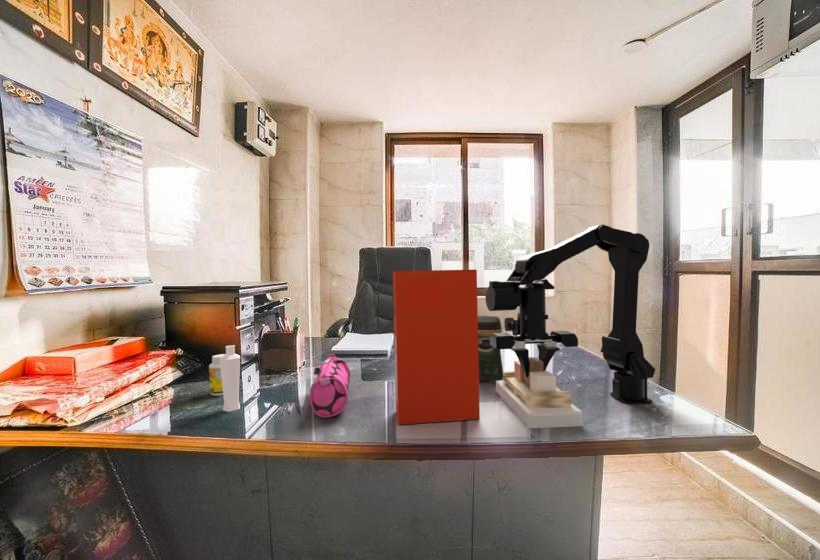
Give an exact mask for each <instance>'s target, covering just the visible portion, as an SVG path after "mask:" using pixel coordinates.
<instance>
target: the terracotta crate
mask: <svg viewBox="0 0 820 560" xmlns="http://www.w3.org/2000/svg"><path fill="white" fill-rule="evenodd" d="M513 362H514V363H513V365H514V371H515V378H517V379H518V380H519V381H520V382H524V372H523V370H522V367H521V364H520V362H519V360H514V361H513Z"/></svg>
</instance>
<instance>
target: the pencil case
mask: <svg viewBox="0 0 820 560" xmlns="http://www.w3.org/2000/svg"><path fill="white" fill-rule="evenodd" d="M326 356H327V358H326V359H325V360H324V361H323V362H322V363H321V365H320V367H314V370H313V375H317V377H316V380H315V381H314V382H313V383H312V385H311V387H310V391H309V403H310V406H311V409H312V411H313V412H314V414H315V415H317V416H318V417H320V418H332V417H333V418H334V417H335V416H337V415H339V414H340V413H341V412H342V411H343V410H344V409H345V408H346V406H347V404H348V399H349V388H350V384H351V383H350V382H351V381H350V379H351V371H350V367H349V365H348V364H347V363H346V361H344V360H342V359H340V358H339V357H336V354H334V353H329V354H327V355H326Z"/></svg>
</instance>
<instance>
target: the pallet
mask: <svg viewBox="0 0 820 560" xmlns="http://www.w3.org/2000/svg"><path fill="white" fill-rule="evenodd" d="M542 371H543V361H542V360H540V359H539V357H536V356H531V357H529V375H528V378H526V377H525V375H524V382H520V381H519V380H518V379H517V378H515V370H513V371H512V370H511V371H509V370H508V371H503V379H502V380H503V384H504V385H505V386H510V387H511V388H512V389H513V393H514V394H515V395H516V396H520V397H521V398H522V399H523V400H524V401H525V405H526V406H527V407H528V408H529V409H532V408H555V407H571V404H572V392H571V391H570V390H562V389H560V388H559V387H557V386H556V391H553V392H532V391H531V390H530V372H542Z"/></svg>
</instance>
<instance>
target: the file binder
mask: <svg viewBox="0 0 820 560" xmlns="http://www.w3.org/2000/svg"><path fill="white" fill-rule="evenodd" d="M477 272H478V270H477V269H440V270H438V269H436V270H435V269H433V270H430V269H429V270H426V269H425V270H394V271H393V272H392V292H393V293H392V294H393V295H392V296H393V337H394V338H393V340H394V341H393V342H394V348H393V349H394V379H395V380H394V385H395V388H394V389H395V390H394V391H395V393H394V395H395V414H396V419H397V424H398V425H411V424H427V423H441V421H442V422H453V421H454V422H455V420H456V421H465V420H466V421H468V420H469V421H470V419H471V420H479V419H481V418H480V416H481V415H480V381H479V359H478V316H479V313H478V310H479V309H478V273H477Z"/></svg>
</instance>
